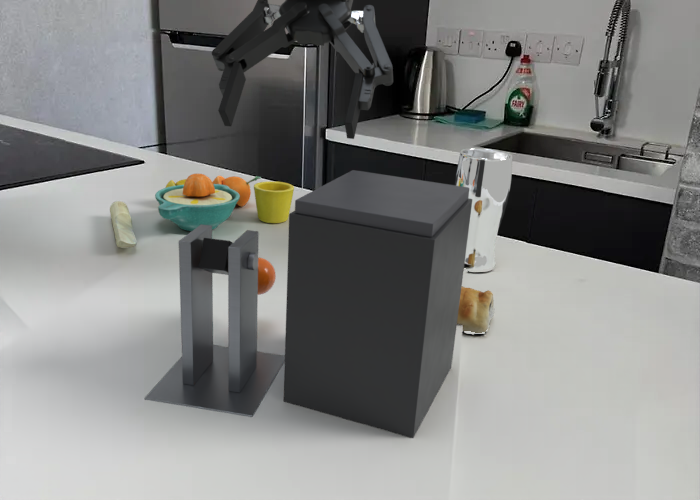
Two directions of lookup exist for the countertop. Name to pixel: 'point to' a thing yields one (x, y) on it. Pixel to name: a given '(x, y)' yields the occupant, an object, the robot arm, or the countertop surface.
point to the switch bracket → (197, 335)
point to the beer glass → (484, 200)
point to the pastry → (475, 310)
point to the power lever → (217, 262)
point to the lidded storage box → (374, 297)
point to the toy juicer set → (207, 203)
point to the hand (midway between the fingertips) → (286, 125)
